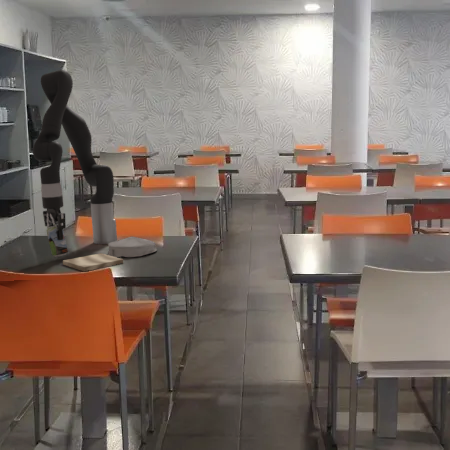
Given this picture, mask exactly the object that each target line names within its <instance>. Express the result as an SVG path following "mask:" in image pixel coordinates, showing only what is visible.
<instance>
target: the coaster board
mask: <svg viewBox="0 0 450 450" xmlns="http://www.w3.org/2000/svg"><path fill="white" fill-rule="evenodd" d="M120 263H122V264H124V259H123V258H121V257H120V258H117V257H114V256H109V255H108V254H105V253H101V252H100V253H96V254H89V255H85V256H79V257H75V258H68V259H64V260H62V266H63V265H64V266H67V267H69V268H71V269H75V270H79V271H81V270H82V272H89V271H92V270H97V269H103V268H108V267H112V265H113V266H117V265H121V264H120ZM116 264H117V265H116ZM88 270H89V271H88Z"/></svg>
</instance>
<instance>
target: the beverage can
mask: <svg viewBox="0 0 450 450" xmlns="http://www.w3.org/2000/svg"><path fill="white" fill-rule="evenodd" d="M46 227H47V226H46ZM56 231H57V230H56V227H55V225H54V226H50V227H47V229H46V235H47V239H48V243H49V248H50V252H51V256H53V257H61V256H65V255H67V253H68V251H69V250H68V246H67V241H66V236H65V232H64V231H63V240H58V239H57V232H56Z"/></svg>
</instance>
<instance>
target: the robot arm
mask: <svg viewBox="0 0 450 450" xmlns="http://www.w3.org/2000/svg"><path fill="white" fill-rule="evenodd" d="M40 84H41V85H40V86H41V88H42V91H43V92H44V93H43V94H44V95H45V96H46V98H47V99H48V101H49V103H50V106H49V107H48V108H47V110H46V112H45V113H44V115H43V118H42V122H41V129H40V133H39V135H38V136H37V138H36V140H35V142H34V143H33V147H32V155H33V158H34V159H35V160H36V161H40V162H45V161H46V162H49V161H51V164H50V165H48V166H45V167H42V168H41V169H40V171H39V173H40V174H39V176H40V186H41V187H40V191H41V200H42V201H41V202H42V203H41V204H42V208H43V209H45V210H42V215H43V223H44V226H45V227H50V226H54V225H55V227H56V230H57V231H56V232H57V239H58V240H63V232H64V229H66V228H67V227H66V223H67V222H66V213H65V212H62V211H61V208H63V207H64V199H63V198H64V197H63V188H62V183H61V174H60V173H61V162H62V157H63V146H62V144H61V143H60V142H58V141H57V140H59V138H60V137H61V131H62V130H61V129H62V128H63V130H64V132H65V135H66V137H67V139H68V141H69V143H70V145H71V147H72V150H73V152H74V154H75V156H76V158H77V160H78V163H79V165H80V169H81V171H82V174H83V178H84V180H85V182H86V183H87V184H88V186H91V187H95V188H96V189H95V191H96V192H95V194H93V195H91V196H90V199H89V200H90V212H91V213H90V214H91V224H92V226H91V227H92V239H93V240H92V241H93V244H97V245H106V244H107V245H108V244H109V243H110V242H114V241H118V234H117V233H118V232H117V221H116V219H115V218H114V204H113V201H114V200H113V198H114V195H115V194H114V193H115V188H114V185H115V183H114V182H115V181H114V173H113V170H112V168H111V167H110V166H109V165H104V164H97V162H96V160H95V157H94V156H93V153H92V134H91V131H90V129H89V127H88V124H87V122H86V120H85V119H84V118H83V117H82V116H81V115H80V114H79V113H78V112H76V110H74V109H72V108H71V107H70V106H69V105H68V103H69V100H70V97H71V94H72V91H73V86H74V85H73V84H74V83H73V78H72V75H71V74H70V72H69V71H68V70H66V69H57V70H55V71H51V72H47V73H44V74H42V76H41V77H40Z"/></svg>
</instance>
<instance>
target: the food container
mask: <svg viewBox="0 0 450 450" xmlns="http://www.w3.org/2000/svg"><path fill="white" fill-rule="evenodd" d="M107 245H108V251H107V255H109V256H113V257H120V258H122V257H125V258H134V257H142V256H145V255H146V256H147V255H149V254H153V253H155V252H156V251H157V250H158V248H157V247H156V242H154V241H153V240H150V239H144V238H142V237H141V238H140V237H137V236H129V237H126V238H123V239H119V240H118V239H117V241H114V242H110V243H108V244H107Z"/></svg>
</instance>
